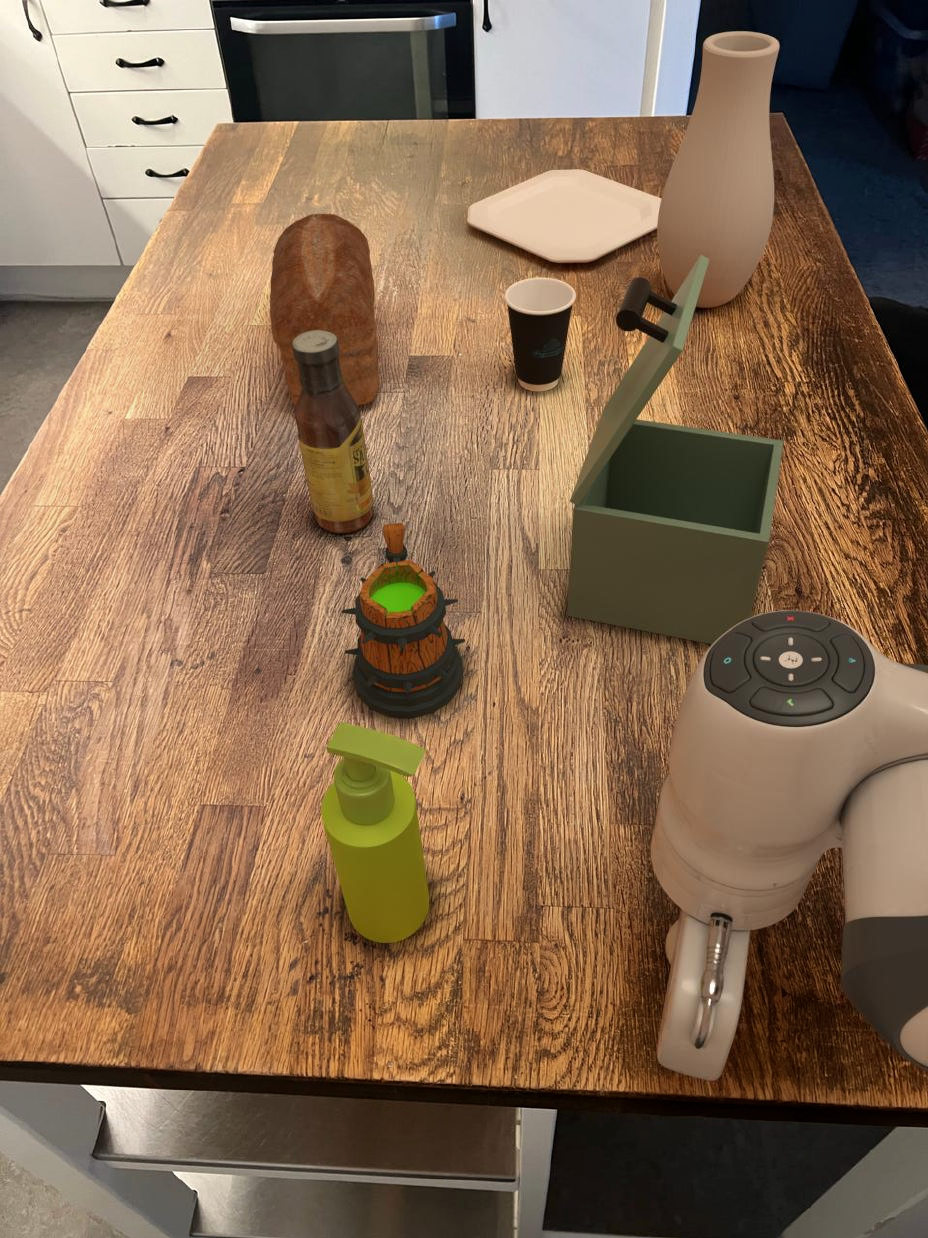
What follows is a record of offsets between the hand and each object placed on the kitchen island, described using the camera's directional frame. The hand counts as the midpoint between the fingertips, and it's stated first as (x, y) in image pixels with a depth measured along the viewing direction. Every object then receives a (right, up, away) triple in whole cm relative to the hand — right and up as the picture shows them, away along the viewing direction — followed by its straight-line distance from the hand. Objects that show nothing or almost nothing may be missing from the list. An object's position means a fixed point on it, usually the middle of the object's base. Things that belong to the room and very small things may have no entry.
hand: (698, 951), depth 64 cm
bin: (+3, +26, +26) cm, 37 cm away
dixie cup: (-7, +50, +51) cm, 72 cm away
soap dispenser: (-21, +1, +5) cm, 21 cm away
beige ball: (0, 0, 0) cm, 0 cm away
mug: (-21, +18, +21) cm, 34 cm away
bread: (-32, +55, +56) cm, 85 cm away
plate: (0, +80, +78) cm, 112 cm away
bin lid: (-1, +41, +12) cm, 42 cm away
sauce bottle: (-28, +33, +35) cm, 55 cm away
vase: (+16, +64, +62) cm, 91 cm away
